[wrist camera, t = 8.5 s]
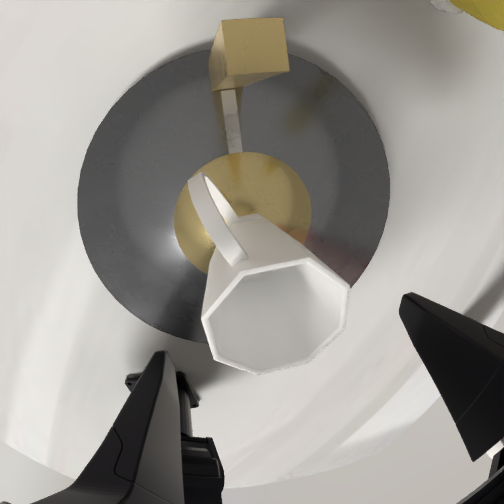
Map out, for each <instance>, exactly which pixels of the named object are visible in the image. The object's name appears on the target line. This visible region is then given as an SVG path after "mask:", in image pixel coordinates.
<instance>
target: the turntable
mask: <svg viewBox="0 0 504 504" xmlns="http://www.w3.org/2000/svg"><path fill="white" fill-rule="evenodd" d="M200 172H205V174H206V175H207V176H208V177H209V178H210V179H211V180H212V182H213V183H214V184H215V185H216V187H217V188H218V189H219V191H220V192H221V193H222V194H223V196H224V197H225V198H226V200H227V201H228V203H229V204H230V205H231V207H232V208H233V210H234V211H235V213H236V214H237V216H238V217H239V216H244V215H249V214H255V213H258V214H260V215H261V216H263V217H264V218H266V219H267V220H269V221H270V222H272V223H273V224H274V225H276V226H277V227H278V228H280V229H281V230H282V231H284V232H285V233H287V234H288V235H290V236H291V237H292V238H294V239H295V240H297V241H298V242H299V243H301V244H302V245H303V246H305V247H306V248H307V249H308V250H309V251H310V252H312V253H313V254H314V255H315V256H316V257H317V258H318V259H320V260H321V261H322V262H323V263H324V264H325V265H327V266H328V267H329V268H330V269H332V270H333V271H334V272H335V273H336V274H338V275H339V276H340V277H341V278H342V279H343V280H344V281H346V282H347V283H348V284H349V285H350V288H351V287H352V286H353V285H354V284H355V282H356V281H357V280H358V279H359V278H360V276H361V275H362V273H363V272H364V270H365V269H366V267H367V266H368V264H369V262H370V261H371V259H372V257H373V255H374V253H375V251H376V249H377V247H378V244H379V242H380V239H381V236H382V234H383V230H384V227H385V223H386V219H387V214H388V207H389V199H390V178H389V170H388V163H387V158H386V155H385V151H384V147H383V144H382V141H381V139H380V136H379V134H378V132H377V129H376V127H375V125H374V123H373V122H372V120H371V118H370V117H369V115H368V113H367V112H366V110H365V109H364V107H363V106H362V105H361V104H360V102H359V101H358V100H357V99H356V98H355V96H354V95H353V94H352V93H351V92H350V91H349V90H348V89H347V88H346V87H345V86H344V85H342V84H341V83H340V82H339V81H338V80H337V79H336V78H334V77H333V76H331V75H330V74H328V73H327V72H325V71H324V70H322V69H321V68H319V67H318V66H316V65H314V64H312V63H309V62H307V61H305V60H303V59H301V58H298V57H296V56H293V55H290V54H288V53H287V45H286V37H285V30H284V23H283V18H249V19H233V20H222V21H221V23H220V26H219V28H218V31H217V34H216V37H215V41H214V44H213V47H212V49H211V50H206V51H201V52H196V53H193V54H190V55H188V56H185V57H182V58H179V59H177V60H174V61H172V62H170V63H168V64H166V65H164V66H162V67H160V68H159V69H157V70H155V71H153V72H151V73H150V74H148V75H147V76H146V77H144V78H143V79H142V80H140V81H139V82H138V83H136V84H135V85H134V86H133V87H131V88H130V89H129V90H128V91H127V92H126V93H125V94H124V95H123V96H122V97H121V98H120V99H119V100H118V101H117V102H116V104H115V105H114V106H113V107H112V108H111V109H110V111H109V112H108V114H107V115H106V116H105V118H104V119H103V121H102V122H101V124H100V125H99V127H98V128H97V130H96V132H95V134H94V136H93V139H92V141H91V143H90V145H89V147H88V149H87V152H86V155H85V159H84V162H83V165H82V169H81V173H80V179H79V186H78V220H79V227H80V233H81V237H82V240H83V244H84V247H85V250H86V253H87V255H88V258H89V260H90V262H91V264H92V266H93V268H94V270H95V272H96V274H97V275H98V277H99V278H100V280H101V281H102V283H103V284H104V286H105V287H106V288H107V289H108V291H109V292H110V293H111V294H112V295H113V296H114V298H115V299H116V300H117V301H118V302H119V303H120V304H122V305H123V306H124V307H125V308H126V309H127V310H128V311H129V312H131V313H132V314H133V315H135V316H136V317H138V318H139V319H141V320H142V321H144V322H145V323H147V324H149V325H151V326H153V327H155V328H156V329H158V330H160V331H163V332H165V333H168V334H171V335H173V336H176V337H179V338H183V339H187V340H191V341H196V342H202V343H208V340H207V337H206V333H205V330H204V327H203V324H202V321H201V315H202V308H203V301H204V295H205V290H206V284H207V277H208V270H209V264H210V260H211V258H212V255H213V253H214V250H215V248H216V245H215V244H214V242H213V241H212V239H211V238H210V236H209V234H208V233H207V231H206V229H205V228H204V226H203V224H202V222H201V220H200V218H199V216H198V214H197V212H196V209H195V207H194V205H193V203H192V200H191V196H190V193H189V189H188V180H189V179H190V178H192V177H194V176H195V175H197V174H198V173H200ZM222 217H223V216H222ZM223 219H224V218H223ZM224 221H225V219H224ZM225 222H226V221H225ZM226 224H227V222H226Z"/></svg>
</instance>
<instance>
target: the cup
mask: <svg viewBox="0 0 504 504" xmlns="http://www.w3.org/2000/svg"><path fill="white" fill-rule="evenodd" d="M188 189H189V193H190V196H191V200H192V203H193V205H194V207H195V209H196V212H197V214H198V216H199V218H200V220H201V222H202V224H203V226H204V228H205V229H206V231H207V233H208V234H209V236H210V238H211V239H212V241H213V242H214V244H215V245H216V248H215V250H214V253H213V255H212V258H211V260H210V264H209V270H208V277H207V284H206V290H205V295H204V301H203V308H202V315H201V321H202V324H203V327H204V330H205V333H206V337H207V340H208V343H209V346H210V349H211V352H212V355H213V358H214V360H215V361H218V362H221V363H224V364H227V365H229V366H232V367H235V368H238V369H241V370H244V371H247V372H250V373H253V374H256V375H261V374H265V373H270V372H274V371H278V370H282V369H286V368H290V367H294V366H298V365H302V364H306V363H309V362H310V361H311V360H312V359H313V358H314V357H315V356H317V355H318V354H319V353H320V352H321V351H322V350H323V349H324V348H325V347H326V346H327V345H329V344H330V343H331V342H332V341H333V340H334V339H335V338H336V337H337V336H338V335H339V334H340V333H341V332H342V331H343V330H344V329H345V326H346V318H347V310H348V301H349V291H350V285H349V284H348V283H347V282H346V281H344V280H343V279H342V278H341V277H340V276H339V275H338V274H336V273H335V272H334V271H333V270H332V269H330V268H329V267H328V266H327V265H325V264H324V263H323V262H322V261H321V260H320V259H318V258H317V257H316V256H315V255H314V254H313V253H312V252H310V251H309V250H308V249H307V248H306V247H305V246H303V245H302V244H301V243H299V242H298V241H297V240H295V239H294V238H292V237H291V236H290V235H288V234H287V233H285V232H284V231H282V230H281V229H280V228H278V227H277V226H276V225H274V224H273V223H272V222H270V221H269V220H267V219H266V218H264V217H263V216H261V215H260V214H258V213H255V214H249V215H244V216H239V217H238V216H237V214H236V213H235V211H234V210H233V208H232V207H231V205H230V204H229V203H228V201H227V200H226V198H225V197H224V196H223V194H222V193H221V192H220V191H219V189H218V188H217V187H216V185H215V184H214V183H213V182H212V180H211V179H210V178H209V177H208V176H207V175H206V174H205V172H200V173H198V174H197V175H195V176H194V177H192V178H190V179H189V180H188ZM222 216H223V217H222ZM223 218H224V219H225V221H226V222H227V224H226V222H225V221H224V219H223Z"/></svg>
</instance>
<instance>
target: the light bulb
mask: <svg viewBox="0 0 504 504" xmlns="http://www.w3.org/2000/svg"><path fill="white" fill-rule="evenodd" d="M430 1H431V3H432V4H433V5H434V7H436V8H437V9H438V10H441V11H444V10H445V11H447V12H448V13H451V14H456V13H461V12H463V11H465V12H467V13H468V14H470V15H471V16H473V17H475V18H476V19H478V20H480V21H482V22H484V23H486V24H488V25H490V26H492V27H494V28H496V29H498V30H502V31H504V0H430Z"/></svg>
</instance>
